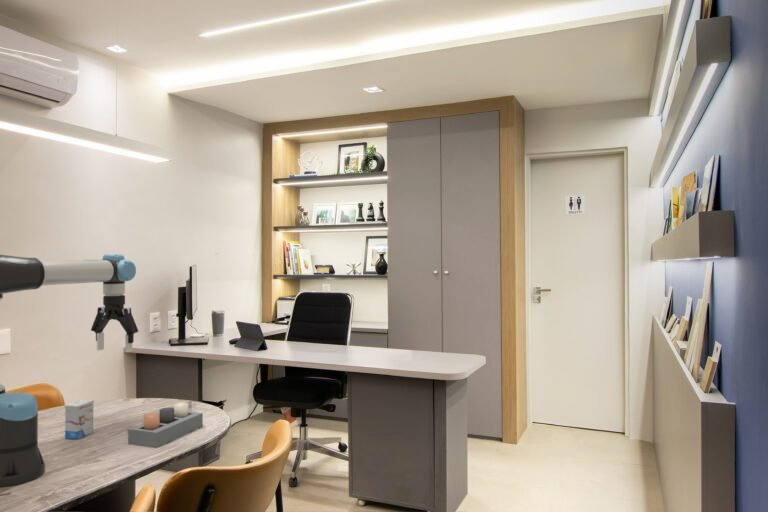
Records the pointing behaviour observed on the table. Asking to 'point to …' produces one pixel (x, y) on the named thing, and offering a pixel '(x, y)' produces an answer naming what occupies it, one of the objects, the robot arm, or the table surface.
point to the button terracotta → (151, 421)
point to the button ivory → (181, 410)
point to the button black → (166, 415)
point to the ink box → (79, 419)
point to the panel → (164, 431)
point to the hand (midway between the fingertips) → (114, 350)
